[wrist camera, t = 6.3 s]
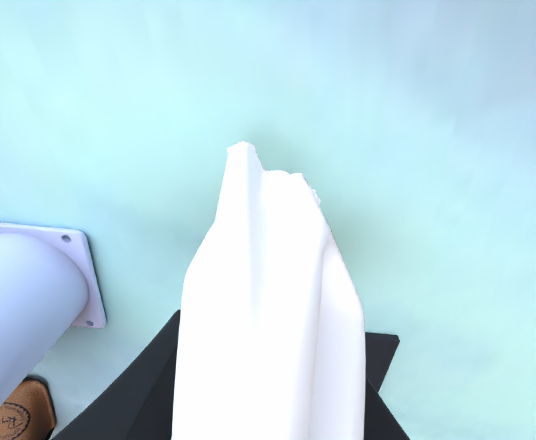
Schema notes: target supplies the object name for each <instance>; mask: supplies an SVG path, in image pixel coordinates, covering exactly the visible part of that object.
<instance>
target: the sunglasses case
mask: <svg viewBox="0 0 536 440" xmlns="http://www.w3.org/2000/svg"><path fill="white" fill-rule="evenodd" d="M55 425H56V420H55V413H54V407H53V403H52V400H51V397H50V395H49V392H48V390H47V387H46V386H45V385H44V384H43V383H42V382H40V381H39V380H35V379H26V378H24V379H23V381H22V382H21V383H20V384H19V385H18V386H17V388H16V389H15V390H14V391H13V392H12V393H11V395H10V396H9V397H8V398H7V399H6V400H5V402H4V403H3V404H2V405H1V406H0V440H49V438H50V437H51V435H52V433H53V430H54V428H55Z"/></svg>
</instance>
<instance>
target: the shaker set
mask: <svg viewBox="0 0 536 440" xmlns="http://www.w3.org/2000/svg"><path fill="white" fill-rule="evenodd" d="M226 151H227V152H228V159H227V163H226V169H225V174H224V178H223V183H222V188H221V192H220V197H219V203H218V207H217V213H216V218H215V222H214V224H213V225H212V227H211V228H210V230H209V232H208V233H207V235H206V237H205V238H204V240H203V242H202V244H201V246H200V247H199V249H198V251H197V252H196V254H195V256H194V258H193V260H192V262H191V264H190V266H189V268H188V271H187V273H186V276H185V280H184V285H183V294H182V303H181V316H180V326H179V338H178V349H177V360H176V375H175V388H174V403H173V422H172V440H363V438H364V411H365V366H366V357H365V323H364V312H363V307H362V303H361V300H360V297H359V295H358V292H357V290H356V288H355V285H354V283H353V281H352V279H351V276H350V274H349V272H348V270H347V267H346V265H345V263H344V261H343V259H342V256H341V254H340V252H339V249H338V247H337V244H336V242H335V240H334V237H333V235H332V233H331V230H330V228H329V226H328V223H327V221H326V219H325V217H324V215H323V213H322V211H321V209H320V204H319V203H320V202H321V200H320V199H319V198H318V197H317V196H316V191H315V190H313V189H312V188H311V186H310V184H308V182H306V179H305V178H303V174H302V173H297V174H296V173H294V174H292V175H290V174H288V172H285V171H279V170H277V171H274V170H273V171H270V170H269V171H266V170H265V169H264V168H263V167H262V165H261V162H260V161H259V159H258V156H257V152H256V149H255V146H254V145H253V144H251V143H247V142H243V141H240V142H239V144H235V145H233V146H232V147H229V148H228V149H227V150H226Z"/></svg>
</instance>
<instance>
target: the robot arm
mask: <svg viewBox="0 0 536 440" xmlns="http://www.w3.org/2000/svg"><path fill="white" fill-rule="evenodd" d="M67 236H68V237H70V239H69V238H68V237H67ZM180 316H181V310H178V311H176V312H175V313H174V315H173V316H172V317H171V318H170V320H169V321H168V322H167V323H166V325H165V326H164V327H163V328H162V329H161V331H160V332H159V333H158V334H157V335H156V336H155V338H154V339H153V340H152V341H151V342H150V343H149V345H148V346H147V347H146V348H145V349H144V350H143V351H142V352H141V353H140V355H139V356H138V357H137V358H136V359H135V360H134V361H133V362H132V363H131V364H130V366H129V367H128V368H127V369H126V370H125V371H124V372H123V373H122V374H121V375H120V376H119V377H118V378H117V379H116V380H115V381H114V382H113V383H112V384H111V385H110V386H109V387H108V388H107V389H106V390H105V391H104V392H103V393H102V394H101V395H100V396H99V397H98V398H97V399H96V400H95V401H94V402H93V403H92V404H90V405H89V406H88V407H87V408H86V409H85V410H84V411H83V412H82V413H81V414H80V415H78V416H77V417H76V418H75V419H74V420H73V421H72V422H71V423H70V424H69V425H67V426H66V427H65V428H64V429H63V430H62V431H60V432H59V433H58V434H57V435H56V436H55V437H53V438H52V439H51V440H171V437H172V422H173V403H174V388H175V375H176V360H177V349H178V338H179V326H180ZM105 324H106V317H105V313H104V309H103V305H102V301H101V296H100V292H99V288H98V284H97V280H96V276H95V271H94V267H93V263H92V259H91V255H90V251H89V247H88V242H87V238H86V236H85V234H84V233H83V232H81V231H79V230H74V229H63V228H53V227H42V226H31V225H21V224H10V223H0V406H1V405H2V404H3V403H4V402H5V400H6V399H7V398H8V397H9V396H10V395H11V393H12V392H13V391H14V390H15V389H16V388H17V386H18V385H19V384H20V383H21V382H22V381H23V379H24V378H25V377H26V376H27V375H28V374H29V372H30V371H31V370H32V369H33V368H34V367H35V365H36V364H37V363H38V362H39V361H40V360H41V358H42V357H43V356H44V355H45V354H46V353H47V351H48V350H49V349H50V348H51V347H52V346H53V344H54V343H55V342H56V341H57V340H58V339H59V337H60V336H61V335H62V334H63V333H64V332H65V330H66V329H67V328H68V327H69V326H76V327H87V328H103V327H104V325H105ZM363 440H410V439H409V437H408V436H407V435H406V433H405V432H404V431H403V429H402V428H401V426H400V425H399V424H398V422H397V421H396V419H395V418H394V416H393V415H392V414H391V412H390V411H389V409H388V408H387V406H386V405H385V403H384V402H383V400H382V399H381V397H380V396H379V394H378V393H377V391H376V390H375V388H374V386H373V385H372V383H371V382H370V380H369V379H368V377H367V375H366V374H365V411H364V438H363Z"/></svg>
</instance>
